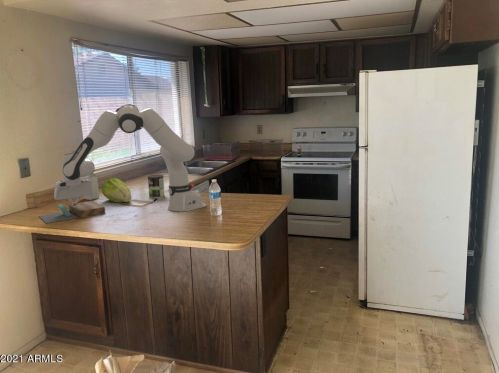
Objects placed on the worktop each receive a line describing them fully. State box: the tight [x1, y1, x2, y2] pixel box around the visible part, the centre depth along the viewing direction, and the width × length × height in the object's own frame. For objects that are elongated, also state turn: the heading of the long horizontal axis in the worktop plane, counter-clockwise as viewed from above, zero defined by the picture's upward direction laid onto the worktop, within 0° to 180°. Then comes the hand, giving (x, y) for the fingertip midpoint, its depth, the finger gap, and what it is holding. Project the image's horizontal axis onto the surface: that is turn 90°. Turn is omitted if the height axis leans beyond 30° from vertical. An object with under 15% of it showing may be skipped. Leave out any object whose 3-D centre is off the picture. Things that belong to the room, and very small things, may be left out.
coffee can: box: [147, 174, 165, 199], centre depth 283 cm, size 10×10×14 cm
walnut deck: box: [68, 200, 106, 219], centre depth 246 cm, size 14×22×4 cm, turn 37°
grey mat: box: [38, 211, 78, 224], centre depth 237 cm, size 16×20×1 cm
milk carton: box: [81, 172, 100, 201], centre depth 283 cm, size 7×7×19 cm
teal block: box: [57, 203, 71, 217], centre depth 239 cm, size 6×9×2 cm
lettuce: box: [101, 177, 132, 203], centre depth 273 cm, size 15×24×16 cm
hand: (74, 205), depth 242 cm, fingers closed
